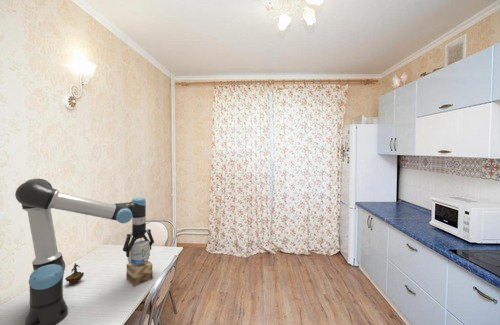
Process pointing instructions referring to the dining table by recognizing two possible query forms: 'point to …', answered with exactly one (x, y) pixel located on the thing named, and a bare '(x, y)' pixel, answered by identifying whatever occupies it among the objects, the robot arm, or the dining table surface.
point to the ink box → (139, 252)
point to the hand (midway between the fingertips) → (139, 258)
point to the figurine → (74, 275)
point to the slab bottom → (139, 278)
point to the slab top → (139, 269)
